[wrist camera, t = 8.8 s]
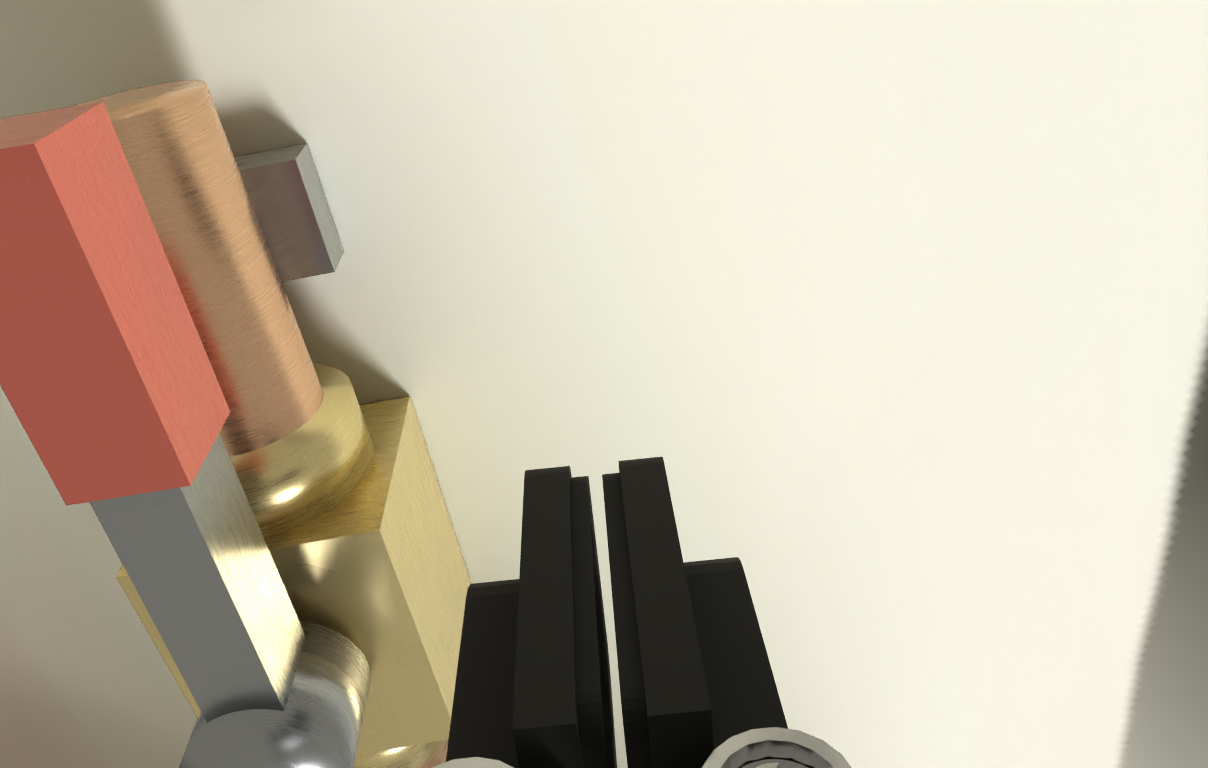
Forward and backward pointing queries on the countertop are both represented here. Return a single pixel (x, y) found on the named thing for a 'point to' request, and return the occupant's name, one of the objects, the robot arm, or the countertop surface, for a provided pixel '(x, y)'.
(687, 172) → the countertop surface
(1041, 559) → the countertop surface
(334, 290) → the countertop surface
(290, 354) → the pipework
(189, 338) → the lever
